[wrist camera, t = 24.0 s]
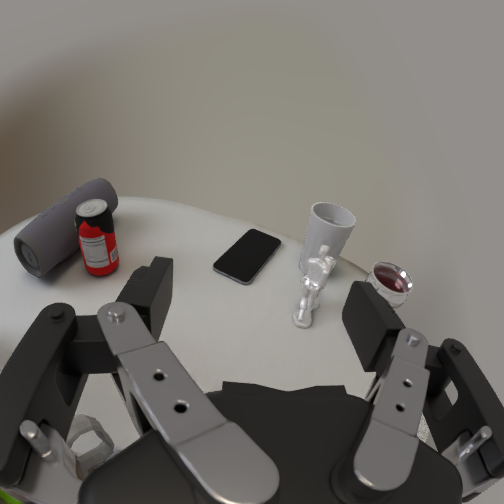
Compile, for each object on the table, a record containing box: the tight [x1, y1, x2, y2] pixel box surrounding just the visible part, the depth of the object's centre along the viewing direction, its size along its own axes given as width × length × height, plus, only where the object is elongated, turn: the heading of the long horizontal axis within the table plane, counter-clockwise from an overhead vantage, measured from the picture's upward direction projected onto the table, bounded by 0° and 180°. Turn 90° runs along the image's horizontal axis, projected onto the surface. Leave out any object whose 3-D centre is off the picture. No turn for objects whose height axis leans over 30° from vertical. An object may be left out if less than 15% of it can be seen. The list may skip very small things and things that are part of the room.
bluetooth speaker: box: [14, 178, 118, 278], centre depth 46 cm, size 23×9×10 cm, turn 165°
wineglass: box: [347, 261, 413, 335], centre depth 40 cm, size 7×7×12 cm
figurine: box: [293, 245, 336, 328], centre depth 43 cm, size 5×9×12 cm, turn 163°
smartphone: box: [213, 229, 281, 284], centre depth 55 cm, size 7×1×15 cm
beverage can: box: [75, 199, 119, 276], centre depth 43 cm, size 6×6×12 cm
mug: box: [0, 414, 114, 504], centre depth 16 cm, size 16×11×12 cm
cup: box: [299, 202, 356, 276], centre depth 51 cm, size 8×8×12 cm
